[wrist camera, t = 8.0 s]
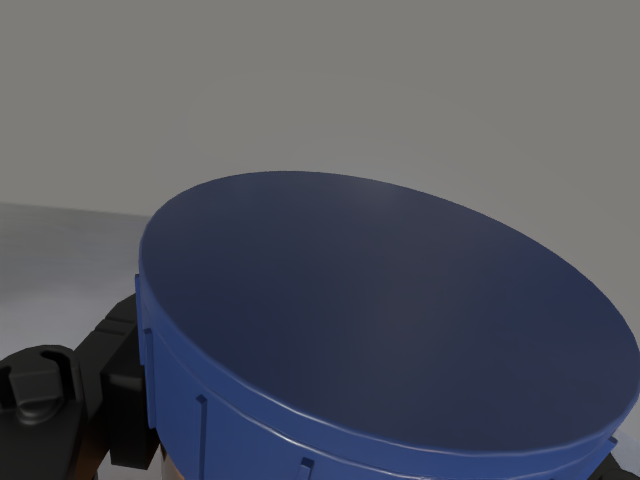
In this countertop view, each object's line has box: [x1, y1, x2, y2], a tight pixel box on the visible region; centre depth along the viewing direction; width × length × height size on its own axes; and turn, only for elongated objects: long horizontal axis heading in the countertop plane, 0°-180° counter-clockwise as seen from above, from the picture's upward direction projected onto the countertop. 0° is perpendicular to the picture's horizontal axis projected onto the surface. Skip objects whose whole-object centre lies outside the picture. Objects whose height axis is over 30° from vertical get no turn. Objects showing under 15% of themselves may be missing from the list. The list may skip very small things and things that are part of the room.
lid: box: [135, 171, 640, 480], centre depth 7 cm, size 8×8×2 cm
